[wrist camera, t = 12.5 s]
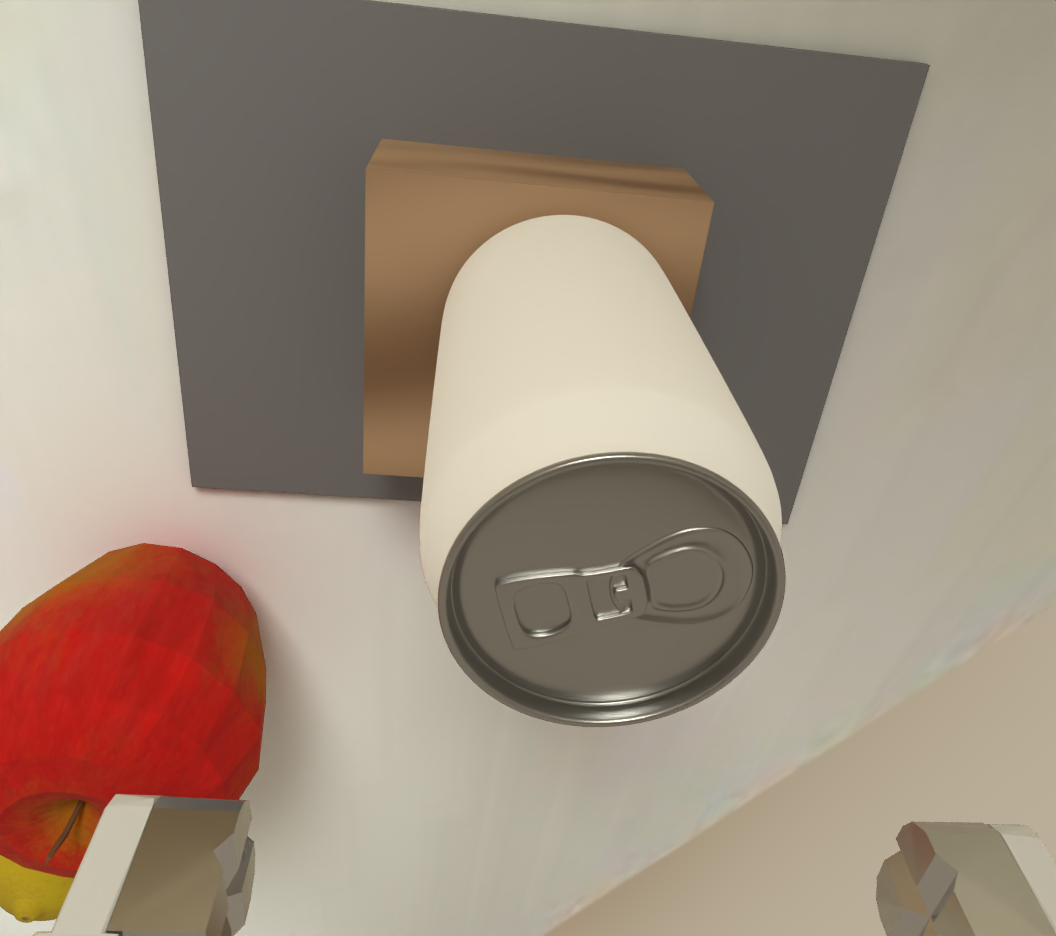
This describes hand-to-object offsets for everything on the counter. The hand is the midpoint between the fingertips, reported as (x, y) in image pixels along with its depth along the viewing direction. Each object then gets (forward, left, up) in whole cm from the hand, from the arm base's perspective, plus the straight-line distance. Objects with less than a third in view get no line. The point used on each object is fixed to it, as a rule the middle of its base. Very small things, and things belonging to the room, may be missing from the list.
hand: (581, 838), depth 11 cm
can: (0, +1, -16) cm, 16 cm away
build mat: (0, 0, -20) cm, 20 cm away
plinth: (0, 0, -20) cm, 20 cm away
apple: (+13, -12, -21) cm, 27 cm away
